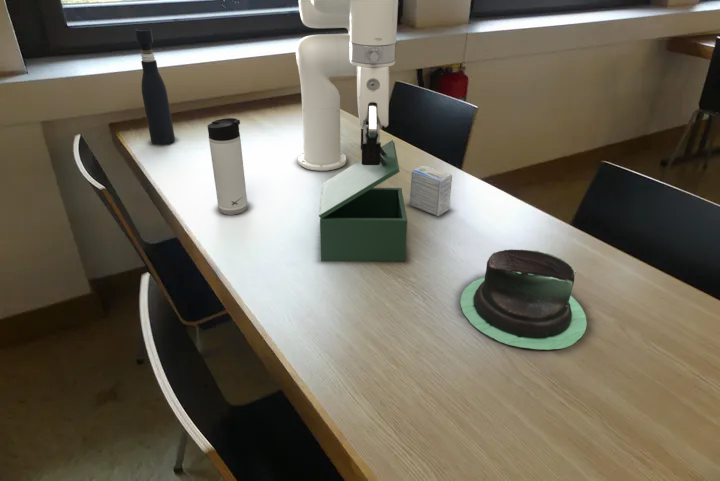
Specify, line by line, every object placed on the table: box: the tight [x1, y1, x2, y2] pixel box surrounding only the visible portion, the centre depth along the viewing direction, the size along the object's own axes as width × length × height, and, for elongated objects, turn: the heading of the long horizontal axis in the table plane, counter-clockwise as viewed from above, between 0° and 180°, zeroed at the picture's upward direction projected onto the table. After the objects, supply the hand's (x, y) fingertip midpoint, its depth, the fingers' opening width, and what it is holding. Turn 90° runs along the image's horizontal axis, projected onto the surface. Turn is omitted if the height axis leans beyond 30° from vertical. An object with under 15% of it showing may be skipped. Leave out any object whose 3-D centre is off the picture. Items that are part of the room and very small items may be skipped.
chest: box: [319, 187, 408, 263], centre depth 103 cm, size 16×14×9 cm
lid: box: [318, 139, 401, 219], centre depth 97 cm, size 16×14×6 cm
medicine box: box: [409, 165, 453, 217], centre depth 116 cm, size 8×4×9 cm, turn 47°
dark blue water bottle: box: [134, 27, 176, 146], centre depth 144 cm, size 6×6×30 cm
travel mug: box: [206, 117, 249, 216], centre depth 112 cm, size 6×7×20 cm
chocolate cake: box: [460, 249, 588, 351], centre depth 86 cm, size 15×19×20 cm
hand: (370, 156), depth 96 cm, fingers closed on lid, 6 cm apart
